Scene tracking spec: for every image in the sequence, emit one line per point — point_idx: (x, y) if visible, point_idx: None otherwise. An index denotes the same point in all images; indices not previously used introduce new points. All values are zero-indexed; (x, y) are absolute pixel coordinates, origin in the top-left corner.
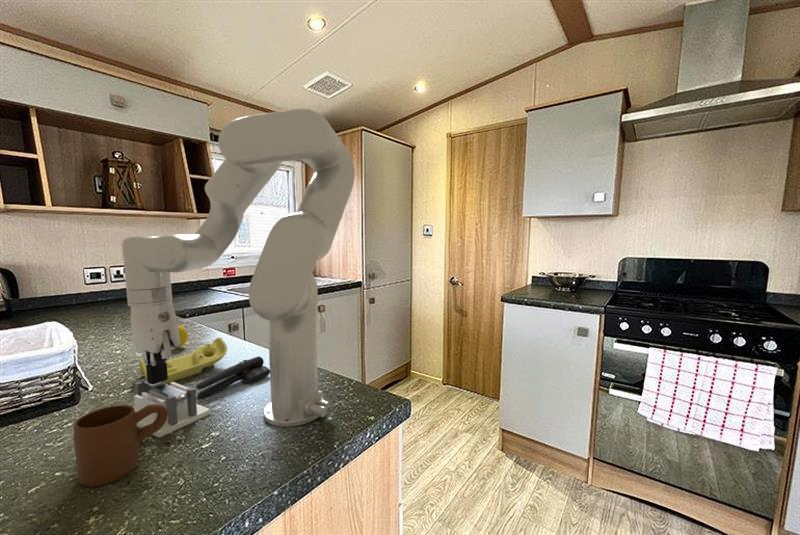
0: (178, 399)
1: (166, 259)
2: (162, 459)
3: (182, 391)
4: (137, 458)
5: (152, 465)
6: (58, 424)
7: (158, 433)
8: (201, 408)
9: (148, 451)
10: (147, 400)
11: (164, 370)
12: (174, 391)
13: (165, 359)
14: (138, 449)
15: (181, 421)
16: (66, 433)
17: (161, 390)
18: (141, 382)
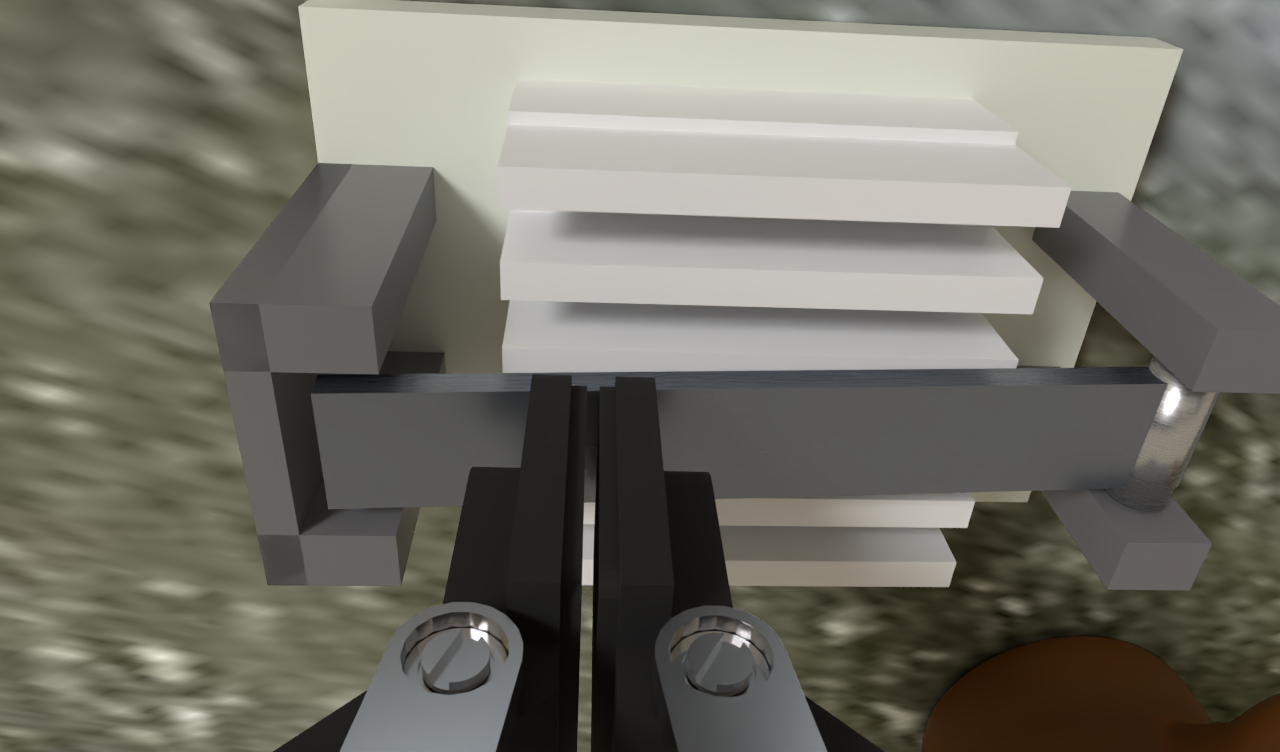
0: (1180, 479)
1: None
2: (1251, 568)
3: (962, 292)
4: (1187, 690)
5: (1235, 613)
6: (97, 688)
7: (1027, 499)
8: (1064, 85)
9: (1083, 568)
10: (774, 570)
11: (721, 543)
12: (973, 417)
13: (857, 744)
14: (1185, 706)
15: (1070, 336)
16: (317, 699)
17: (805, 487)
18: (371, 540)
